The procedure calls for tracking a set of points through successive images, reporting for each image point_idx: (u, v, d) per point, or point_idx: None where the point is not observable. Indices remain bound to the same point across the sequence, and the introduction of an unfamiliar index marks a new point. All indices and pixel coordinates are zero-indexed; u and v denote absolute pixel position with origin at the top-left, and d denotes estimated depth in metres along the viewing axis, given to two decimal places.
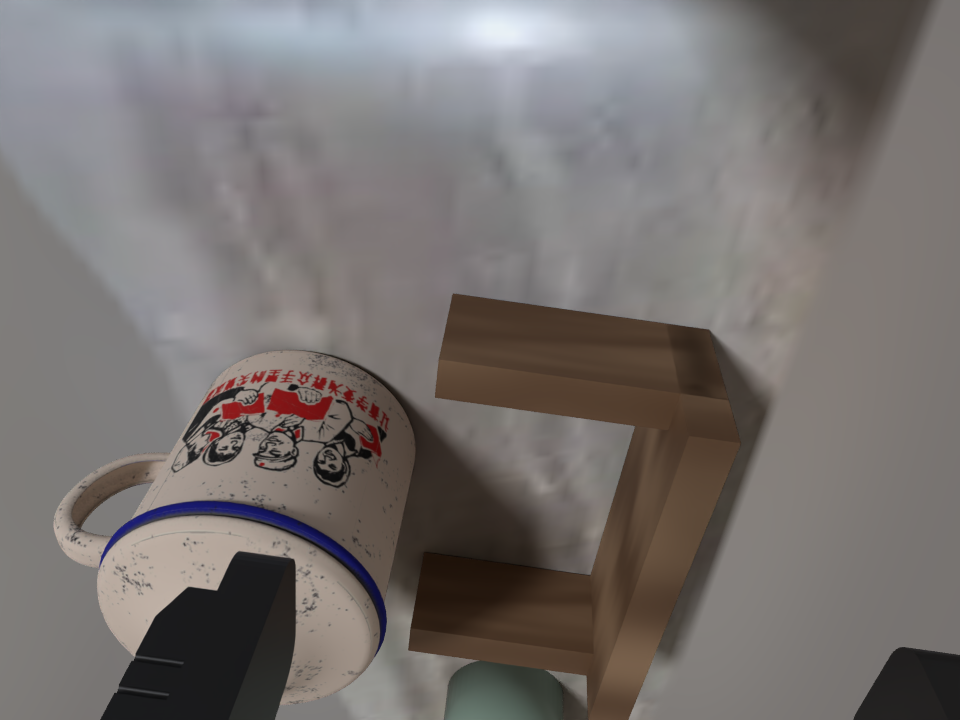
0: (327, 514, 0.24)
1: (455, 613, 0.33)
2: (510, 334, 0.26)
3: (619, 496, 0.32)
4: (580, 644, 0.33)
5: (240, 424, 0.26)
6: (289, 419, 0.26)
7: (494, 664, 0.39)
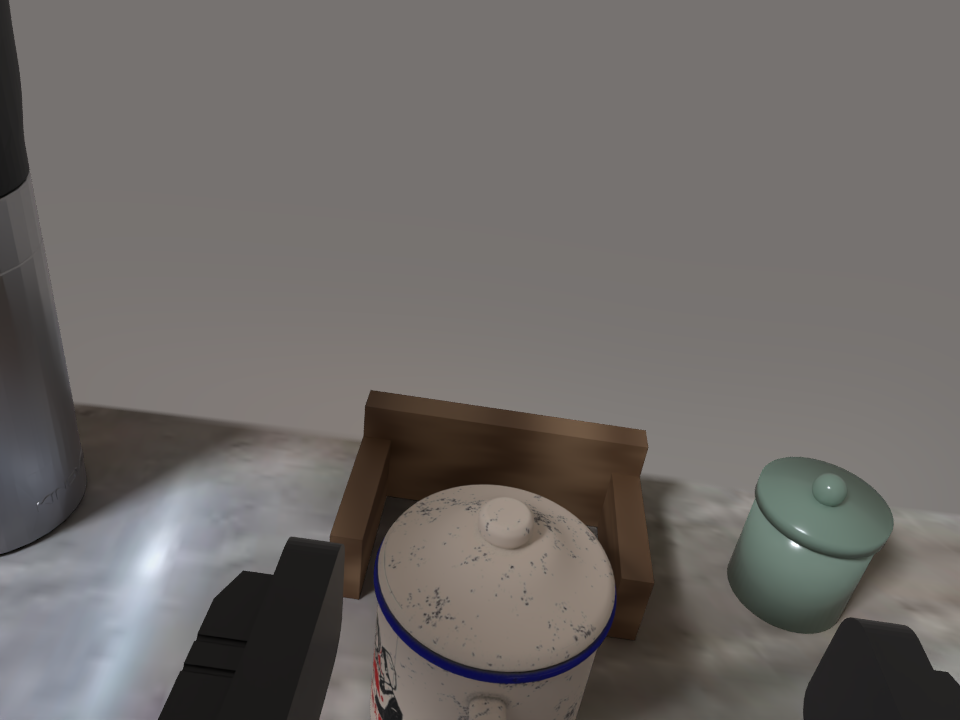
0: None
1: (614, 565, 0.38)
2: None
3: None
4: (611, 484, 0.43)
5: (375, 649, 0.31)
6: None
7: (735, 588, 0.42)
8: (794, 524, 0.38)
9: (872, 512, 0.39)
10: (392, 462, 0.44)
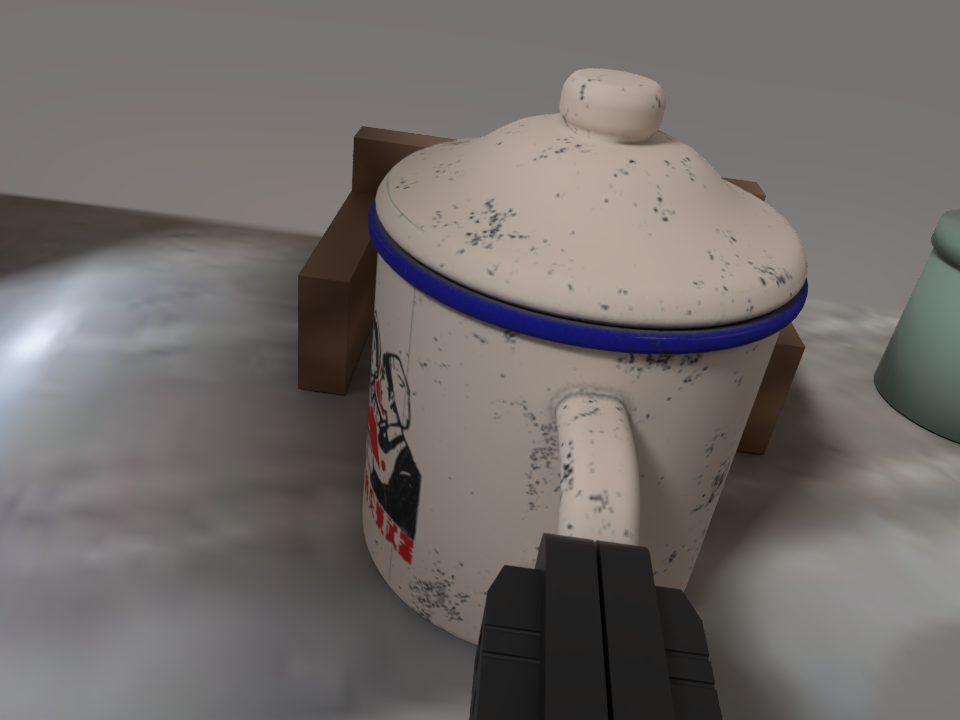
0: None
1: None
2: None
3: None
4: None
5: (370, 385, 0.18)
6: None
7: (896, 399, 0.29)
8: None
9: None
10: None
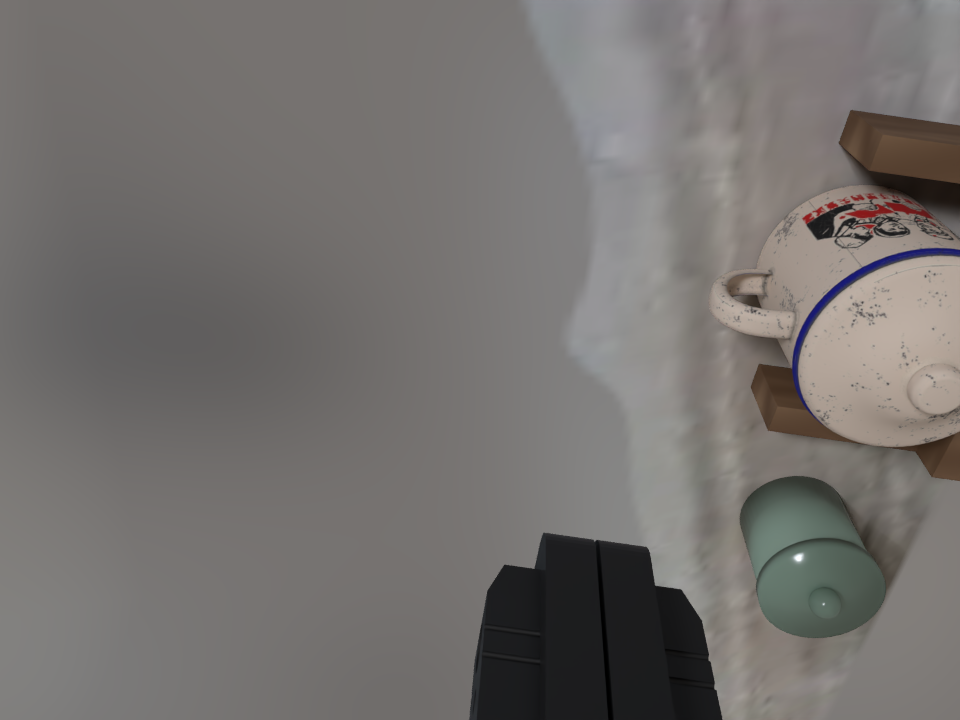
0: None
1: None
2: (915, 128, 0.34)
3: None
4: None
5: (886, 218, 0.33)
6: None
7: (773, 484, 0.46)
8: (775, 569, 0.42)
9: (813, 625, 0.43)
10: None
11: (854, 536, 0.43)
